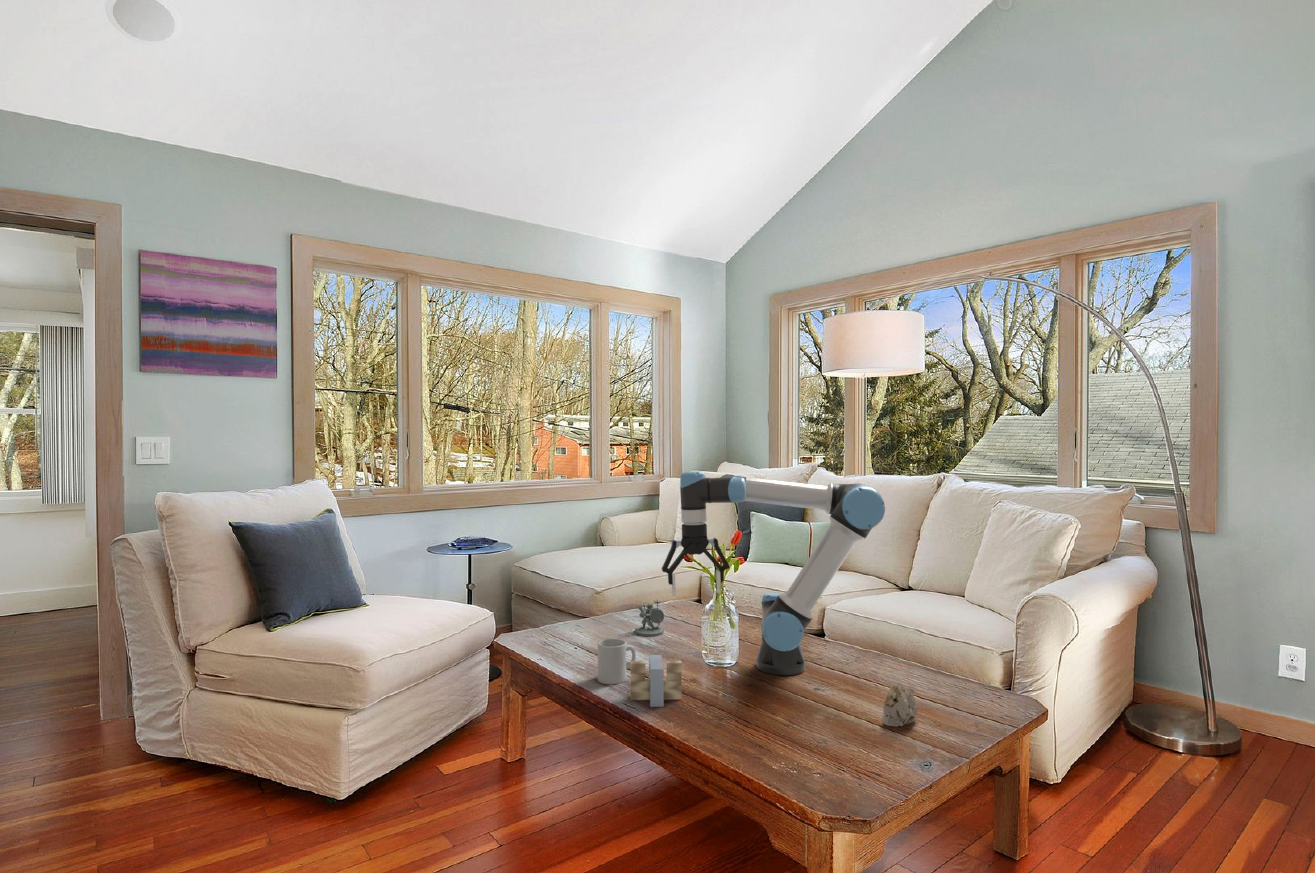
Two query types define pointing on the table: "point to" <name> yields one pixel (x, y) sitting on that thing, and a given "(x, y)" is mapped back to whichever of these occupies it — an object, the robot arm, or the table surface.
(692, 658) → the table surface
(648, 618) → the figurine
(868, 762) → the table surface
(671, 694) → the slot plate fixed
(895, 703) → the rock
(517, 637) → the table surface
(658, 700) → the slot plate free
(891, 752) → the table surface
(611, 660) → the mug
